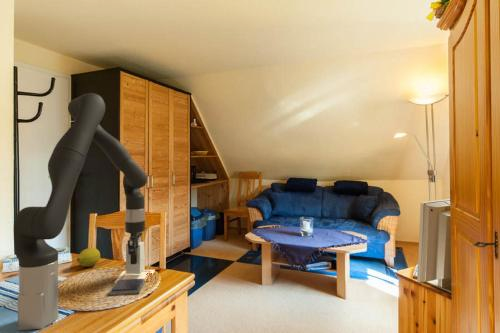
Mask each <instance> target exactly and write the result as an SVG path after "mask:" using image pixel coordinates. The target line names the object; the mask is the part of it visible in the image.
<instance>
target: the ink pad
mask: <svg viewBox="0 0 500 333" xmlns="http://www.w3.org/2000/svg"><path fill="white" fill-rule="evenodd" d="M145 284H146V282H145V279H126V280H119V281H117V282H116V283H114V285H113V286H112V287H111V288H110V290H109V292H108V296H120V295H119V294H126V295H138V294H137V293H139V294H140V293H141V291H142V289H143V287H144V285H145Z"/></svg>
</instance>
